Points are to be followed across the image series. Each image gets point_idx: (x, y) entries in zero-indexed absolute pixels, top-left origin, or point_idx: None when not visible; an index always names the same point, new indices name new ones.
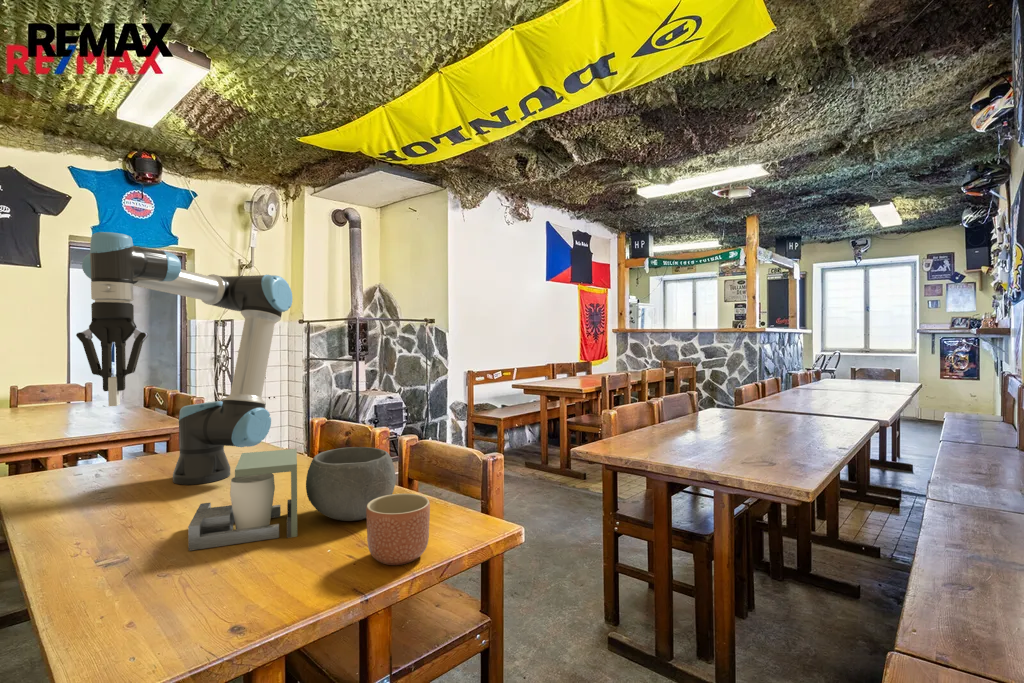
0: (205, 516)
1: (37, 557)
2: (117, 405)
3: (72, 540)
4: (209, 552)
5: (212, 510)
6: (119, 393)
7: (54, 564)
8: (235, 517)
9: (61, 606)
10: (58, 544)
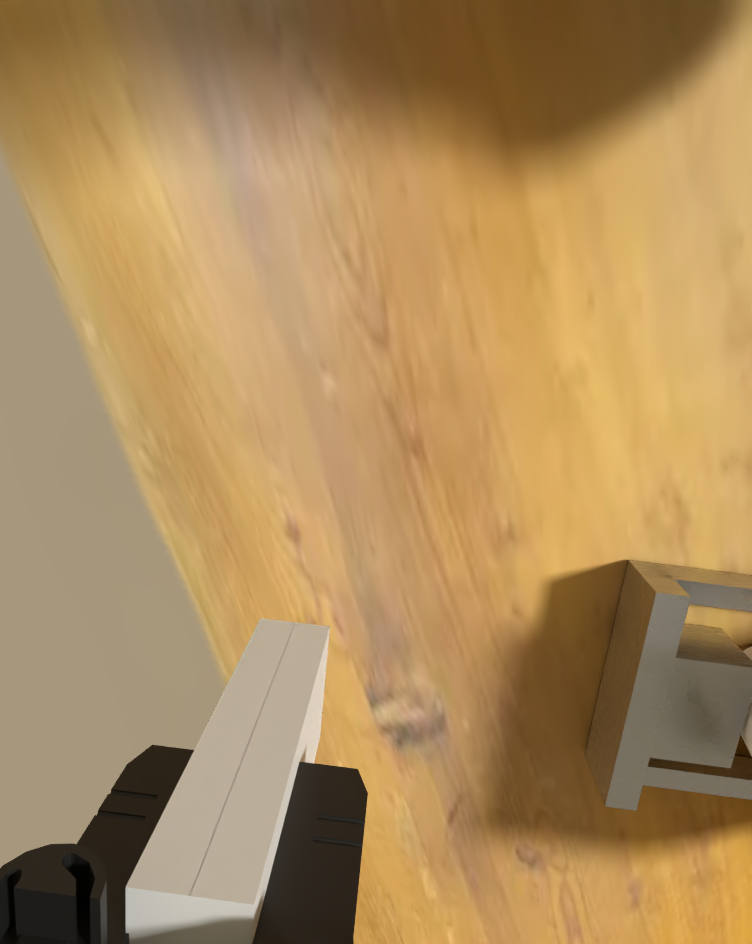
0: (659, 743)
1: (219, 593)
2: (321, 713)
3: (271, 495)
4: None
5: (686, 693)
6: (308, 724)
7: None
8: (743, 738)
9: None
10: (241, 512)
